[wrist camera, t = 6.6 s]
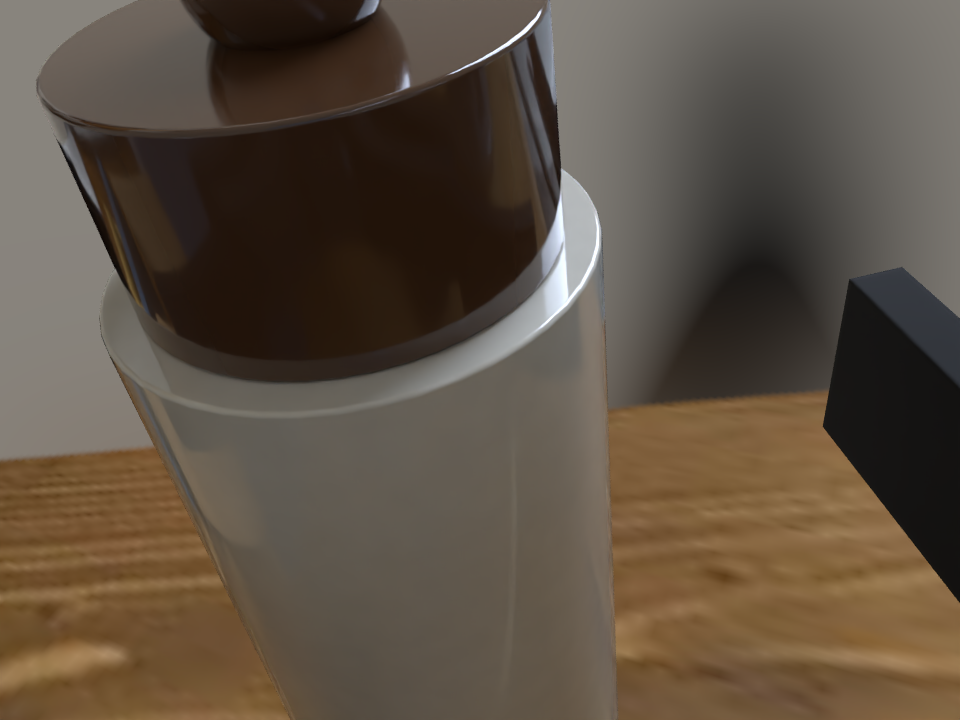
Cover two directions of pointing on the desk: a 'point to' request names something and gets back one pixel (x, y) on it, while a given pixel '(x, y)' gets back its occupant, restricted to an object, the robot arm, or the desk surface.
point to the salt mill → (363, 338)
